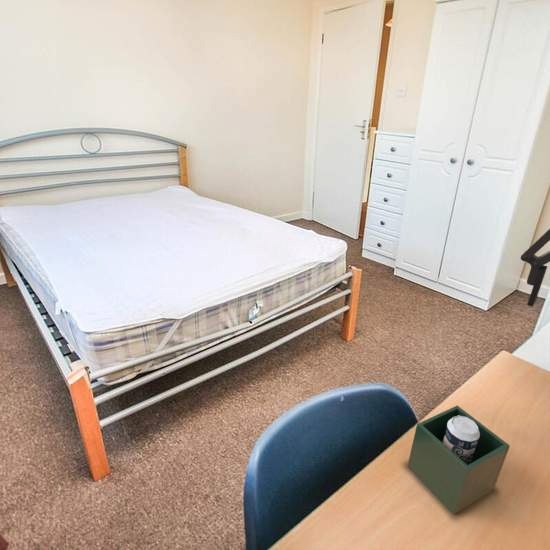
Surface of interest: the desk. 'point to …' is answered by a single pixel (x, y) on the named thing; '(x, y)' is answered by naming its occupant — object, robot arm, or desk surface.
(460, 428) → the beer can
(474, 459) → the green open-top box
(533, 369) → the desk surface
